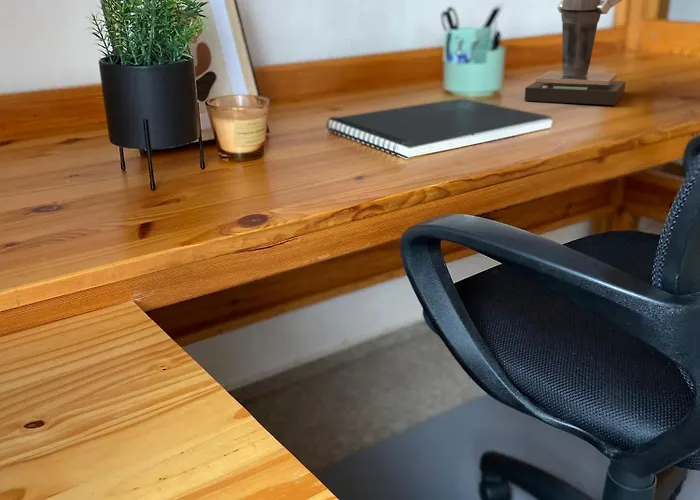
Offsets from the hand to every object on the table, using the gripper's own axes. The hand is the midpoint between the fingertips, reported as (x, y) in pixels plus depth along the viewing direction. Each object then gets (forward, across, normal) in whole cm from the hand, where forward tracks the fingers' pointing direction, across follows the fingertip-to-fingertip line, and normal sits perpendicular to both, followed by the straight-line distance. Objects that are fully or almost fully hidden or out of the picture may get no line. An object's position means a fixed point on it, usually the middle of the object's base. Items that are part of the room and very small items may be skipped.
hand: (580, 11), depth 130 cm
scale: (+11, 0, +11) cm, 16 cm away
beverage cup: (+8, 0, +8) cm, 12 cm away
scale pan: (+8, 0, +9) cm, 12 cm away
